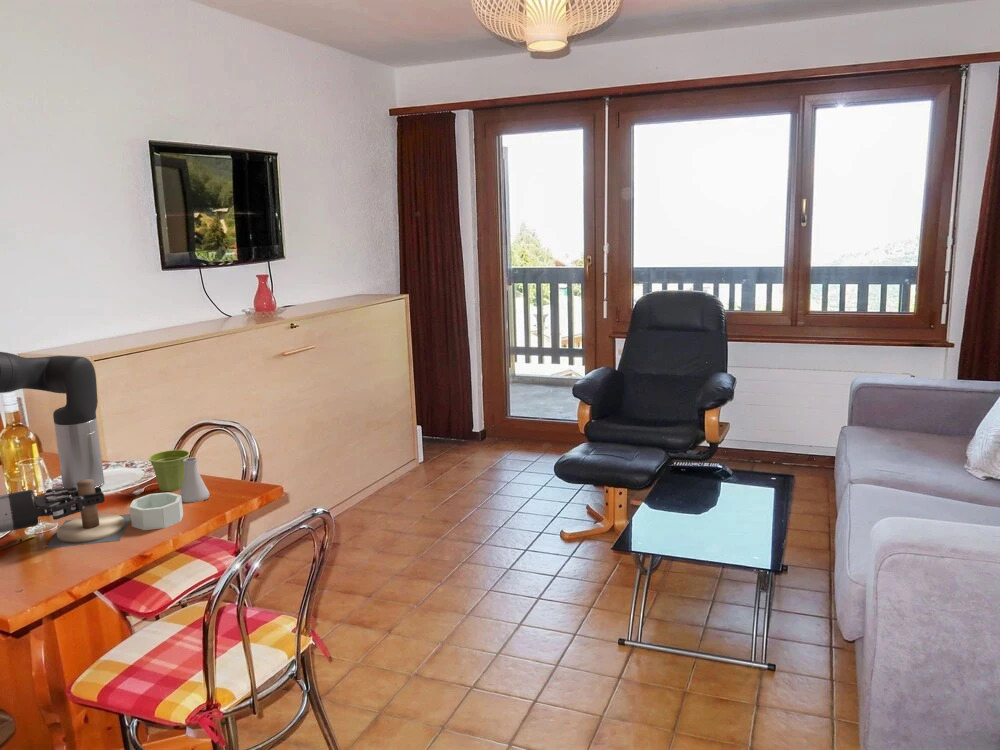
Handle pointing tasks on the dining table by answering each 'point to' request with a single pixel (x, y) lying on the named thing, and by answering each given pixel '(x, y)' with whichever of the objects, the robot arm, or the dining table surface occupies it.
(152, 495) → the bowl
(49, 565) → the dining table surface
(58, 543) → the mat
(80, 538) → the lid
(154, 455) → the plant pot
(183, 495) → the flask
